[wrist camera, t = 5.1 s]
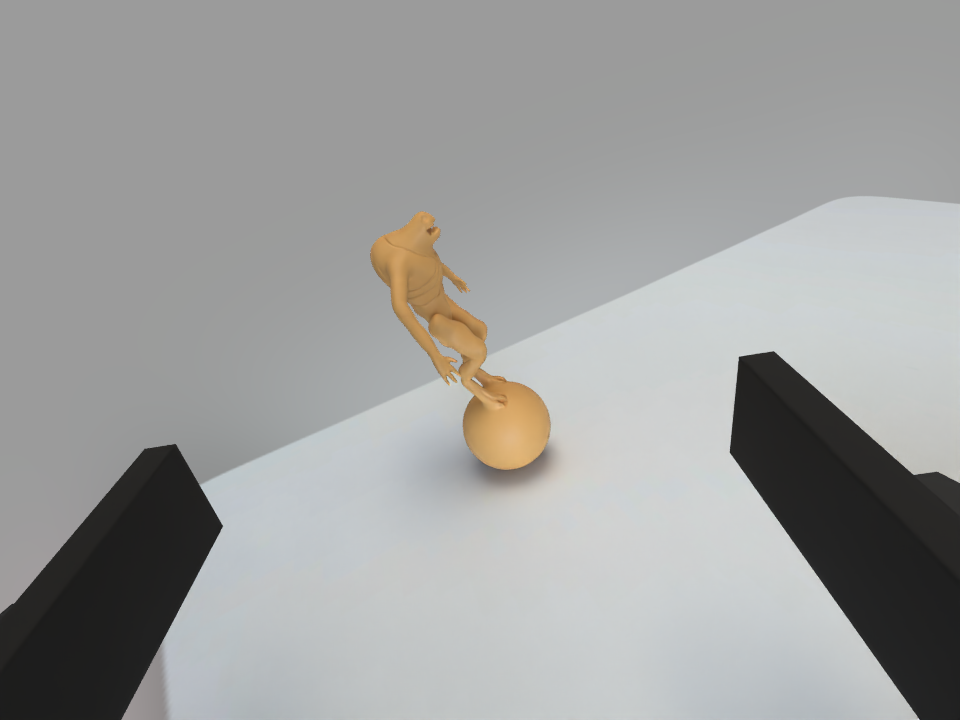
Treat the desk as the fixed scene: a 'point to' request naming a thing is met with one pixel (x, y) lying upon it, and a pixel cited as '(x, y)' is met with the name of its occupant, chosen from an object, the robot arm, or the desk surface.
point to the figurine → (460, 348)
